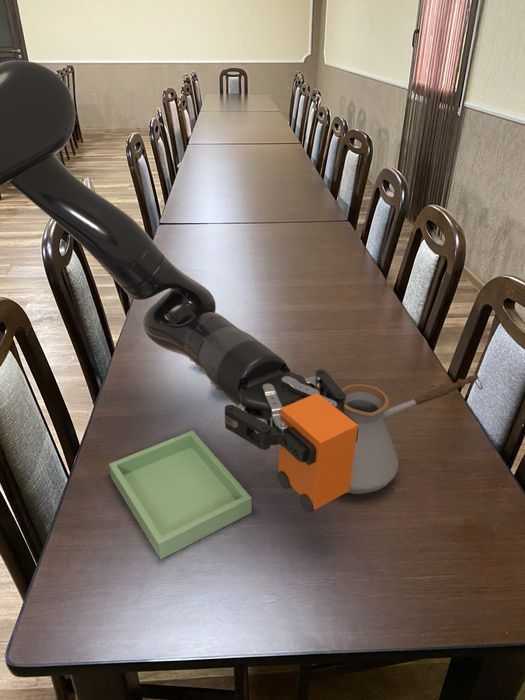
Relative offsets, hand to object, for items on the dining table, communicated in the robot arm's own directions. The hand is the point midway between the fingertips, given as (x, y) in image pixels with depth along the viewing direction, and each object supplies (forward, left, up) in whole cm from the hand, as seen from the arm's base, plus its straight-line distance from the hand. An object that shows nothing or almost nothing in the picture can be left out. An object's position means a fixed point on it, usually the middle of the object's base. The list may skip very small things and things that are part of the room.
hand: (334, 446), depth 53 cm
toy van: (+2, +2, -8) cm, 8 cm away
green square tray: (+3, +20, -17) cm, 27 cm away
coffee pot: (+18, -4, -18) cm, 26 cm away
